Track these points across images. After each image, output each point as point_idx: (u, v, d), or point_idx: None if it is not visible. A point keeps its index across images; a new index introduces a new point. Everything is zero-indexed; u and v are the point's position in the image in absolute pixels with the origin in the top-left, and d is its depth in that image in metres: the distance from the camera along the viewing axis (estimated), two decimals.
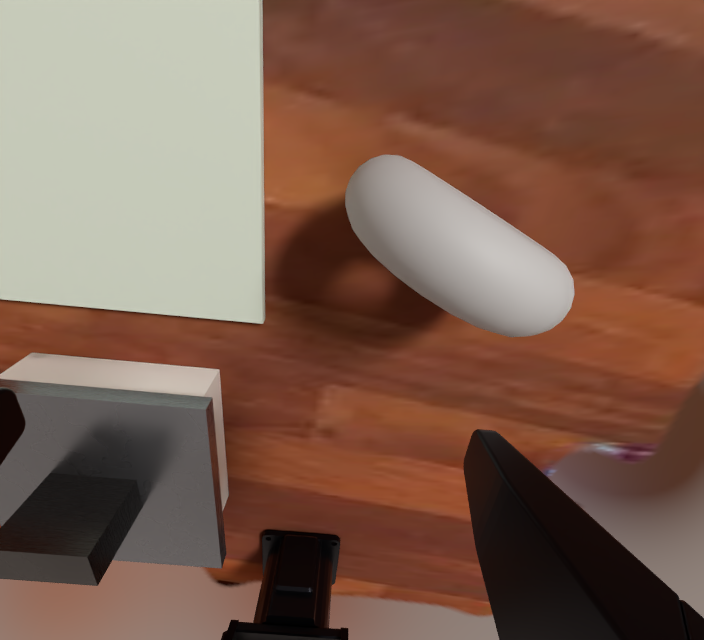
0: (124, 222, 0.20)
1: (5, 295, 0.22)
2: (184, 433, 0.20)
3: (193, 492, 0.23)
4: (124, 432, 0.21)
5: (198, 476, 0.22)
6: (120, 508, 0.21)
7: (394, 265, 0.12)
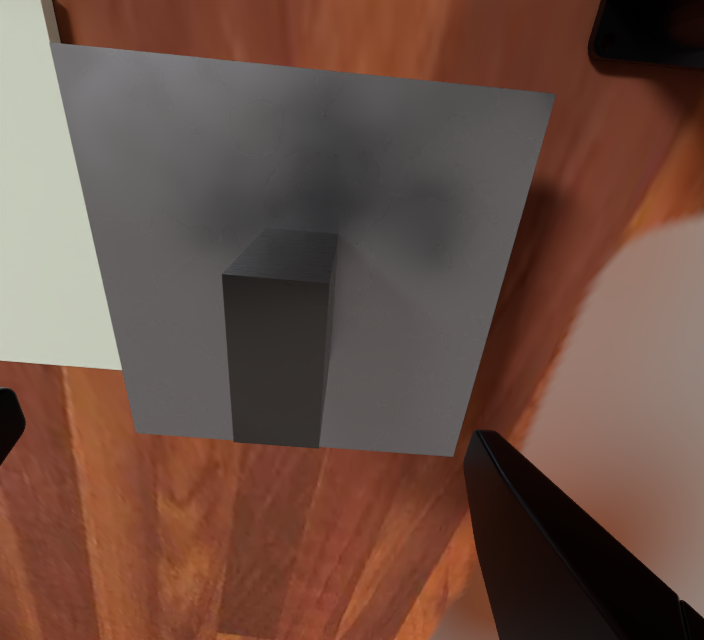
0: None
1: (113, 351, 0.20)
2: (123, 102, 0.11)
3: (287, 117, 0.11)
4: (153, 219, 0.12)
5: (238, 95, 0.11)
6: (260, 242, 0.11)
7: None
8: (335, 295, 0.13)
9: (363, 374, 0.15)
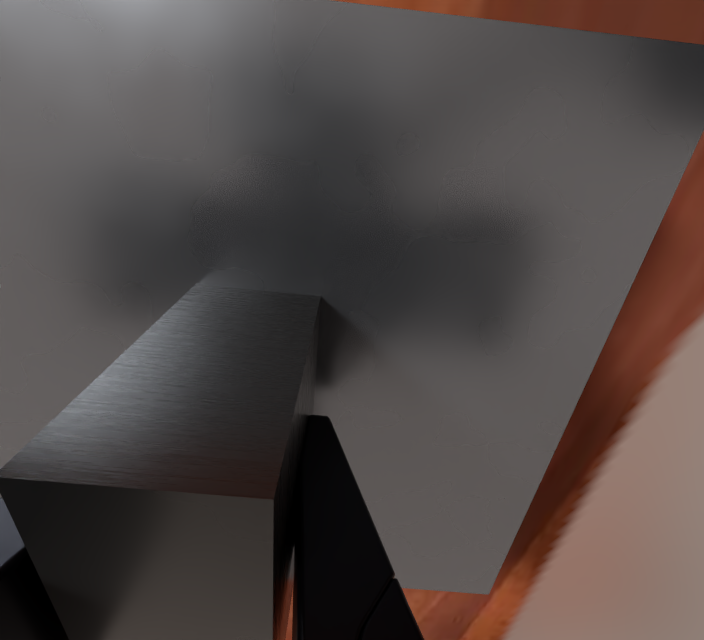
0: None
1: None
2: None
3: (222, 90, 0.06)
4: (2, 268, 0.07)
5: (123, 46, 0.06)
6: (166, 327, 0.06)
7: None
8: (316, 388, 0.08)
9: None
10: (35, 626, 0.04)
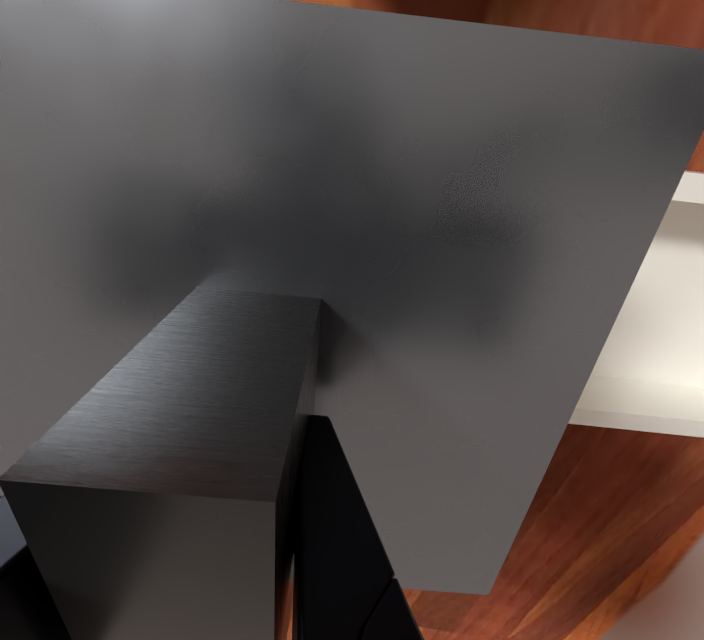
0: None
1: None
2: None
3: (223, 94, 0.06)
4: (5, 271, 0.07)
5: (125, 50, 0.06)
6: (169, 330, 0.06)
7: None
8: (317, 389, 0.08)
9: None
10: (35, 626, 0.04)
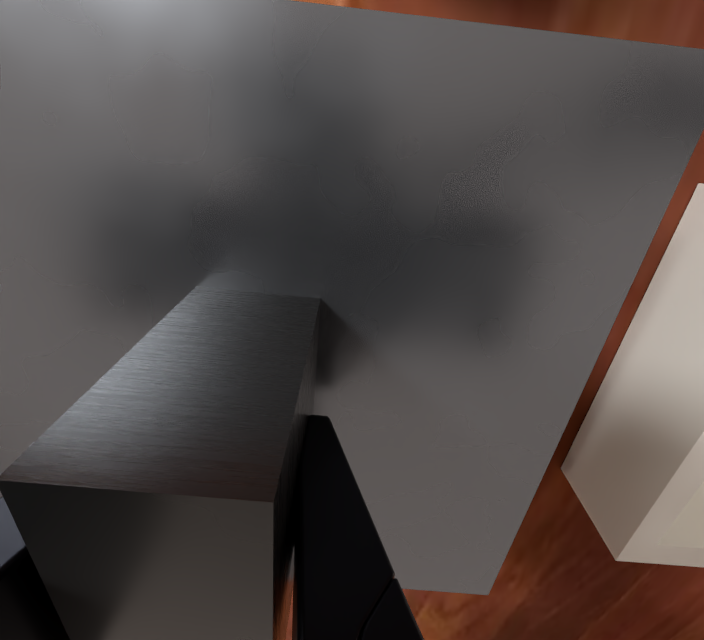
0: None
1: None
2: None
3: (222, 94, 0.06)
4: (3, 271, 0.07)
5: (124, 50, 0.06)
6: (166, 329, 0.06)
7: None
8: (316, 389, 0.08)
9: None
10: (35, 626, 0.04)
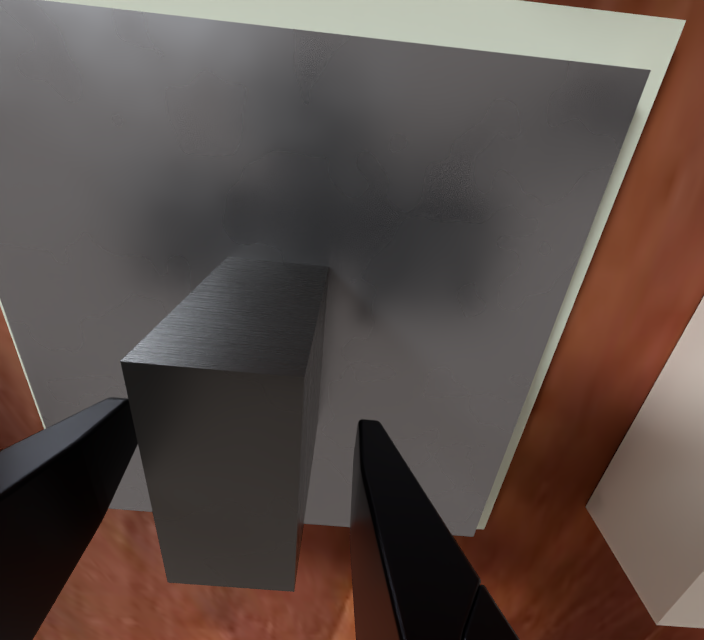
0: None
1: (484, 509, 0.14)
2: (11, 77, 0.07)
3: (254, 101, 0.07)
4: (71, 244, 0.09)
5: (179, 68, 0.07)
6: (211, 284, 0.07)
7: None
8: (324, 346, 0.10)
9: None
10: None
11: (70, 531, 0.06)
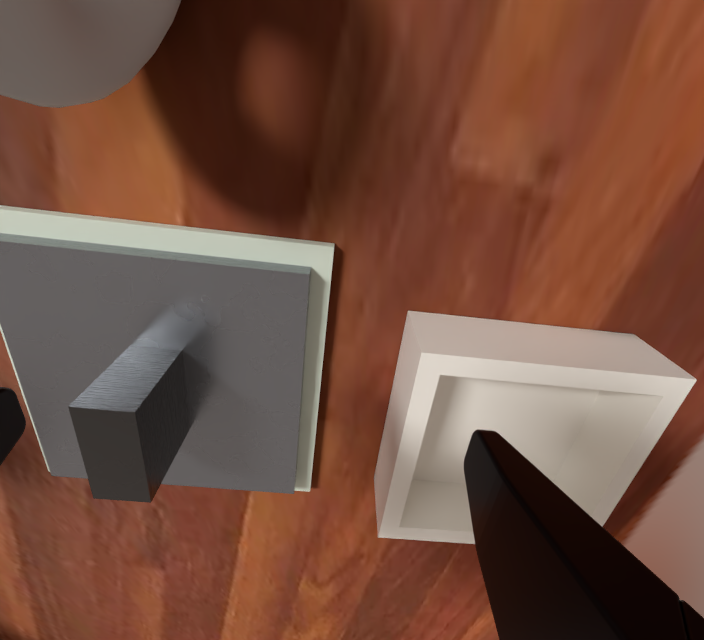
0: None
1: (306, 478, 0.24)
2: (24, 271, 0.16)
3: (136, 282, 0.17)
4: (51, 338, 0.18)
5: (101, 269, 0.16)
6: (115, 365, 0.16)
7: None
8: (186, 386, 0.19)
9: (216, 437, 0.21)
10: None
11: None
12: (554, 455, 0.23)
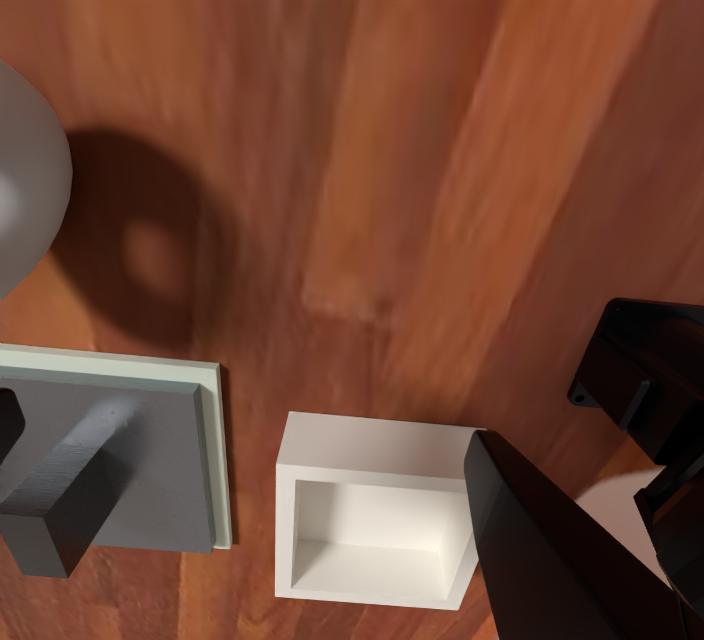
0: None
1: (225, 539, 0.27)
2: None
3: (56, 400, 0.21)
4: None
5: (27, 391, 0.20)
6: (40, 467, 0.21)
7: None
8: (108, 473, 0.23)
9: (139, 510, 0.25)
10: None
11: None
12: (434, 523, 0.26)
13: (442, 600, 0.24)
